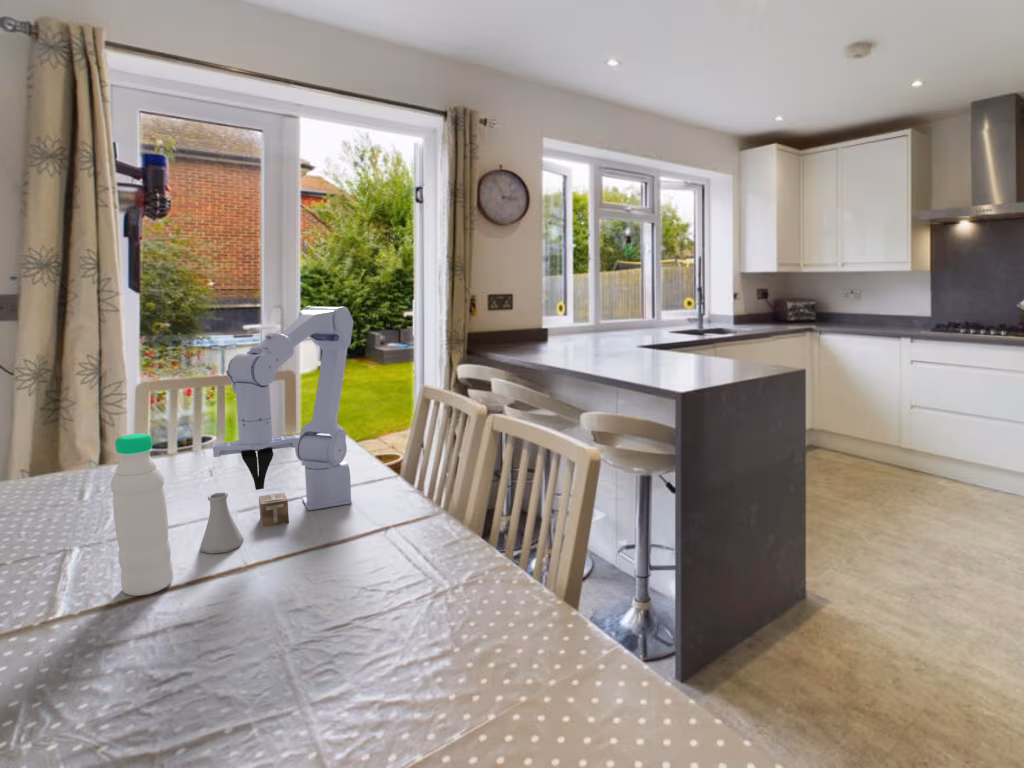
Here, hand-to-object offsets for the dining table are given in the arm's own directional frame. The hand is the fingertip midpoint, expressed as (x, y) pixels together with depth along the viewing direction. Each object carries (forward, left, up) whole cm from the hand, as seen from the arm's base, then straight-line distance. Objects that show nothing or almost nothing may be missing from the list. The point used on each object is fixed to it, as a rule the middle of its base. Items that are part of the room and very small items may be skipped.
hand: (259, 487), depth 109 cm
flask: (+7, 0, -10) cm, 13 cm away
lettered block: (-3, -8, -10) cm, 13 cm away
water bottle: (+18, +11, -10) cm, 23 cm away
